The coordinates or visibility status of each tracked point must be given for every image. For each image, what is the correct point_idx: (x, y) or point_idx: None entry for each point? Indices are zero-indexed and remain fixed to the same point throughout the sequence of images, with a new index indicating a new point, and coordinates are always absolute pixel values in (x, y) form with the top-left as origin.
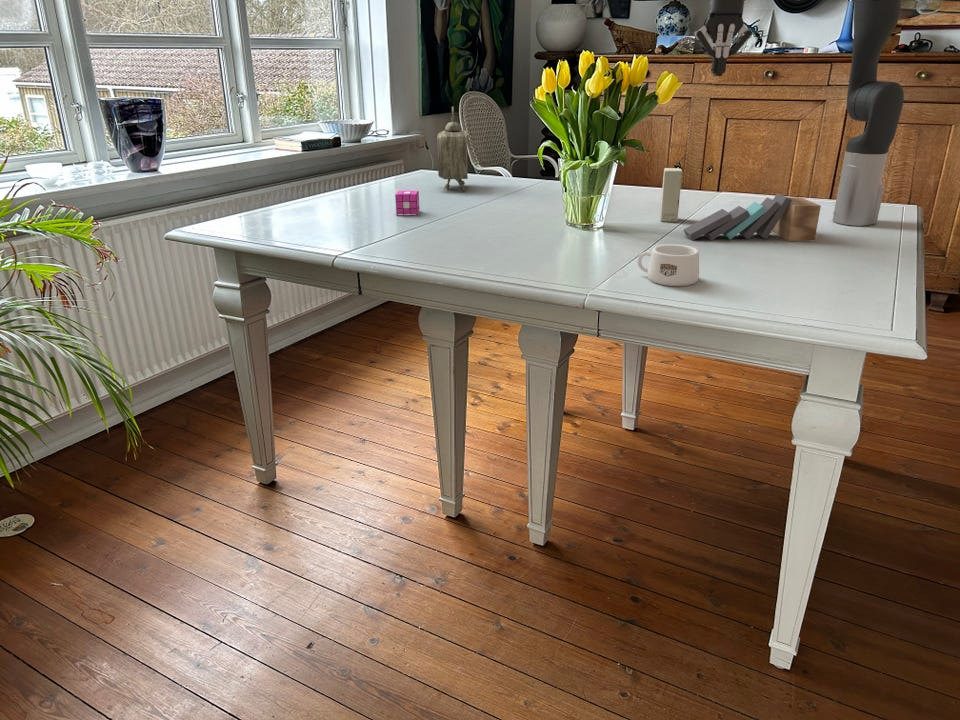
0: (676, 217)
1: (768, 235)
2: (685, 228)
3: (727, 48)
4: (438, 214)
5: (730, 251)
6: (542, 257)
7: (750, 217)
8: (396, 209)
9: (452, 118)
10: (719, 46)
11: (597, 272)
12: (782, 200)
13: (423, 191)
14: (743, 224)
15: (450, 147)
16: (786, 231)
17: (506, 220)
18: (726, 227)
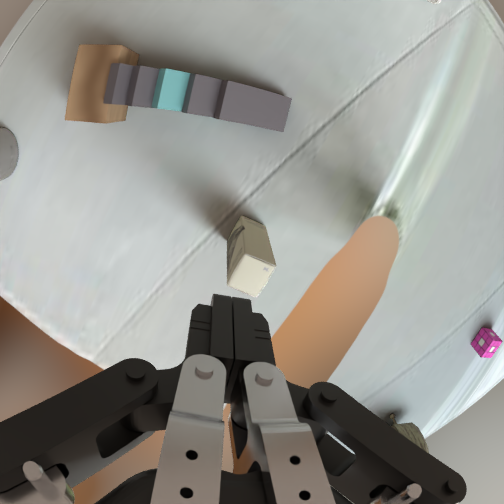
0: (243, 218)
1: None
2: (280, 130)
3: (192, 407)
4: (468, 328)
5: (265, 26)
6: (483, 115)
7: (190, 73)
8: (494, 332)
9: None
10: (273, 425)
11: (459, 36)
12: (124, 70)
13: (417, 415)
14: None
15: (419, 445)
16: (132, 65)
17: (439, 290)
18: None
